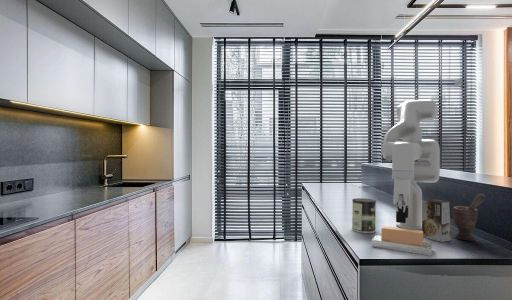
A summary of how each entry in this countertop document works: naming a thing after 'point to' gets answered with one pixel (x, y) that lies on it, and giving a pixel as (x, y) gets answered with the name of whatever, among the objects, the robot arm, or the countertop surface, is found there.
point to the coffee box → (436, 219)
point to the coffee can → (363, 215)
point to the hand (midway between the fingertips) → (402, 219)
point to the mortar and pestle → (466, 219)
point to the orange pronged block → (402, 235)
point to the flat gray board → (402, 246)
